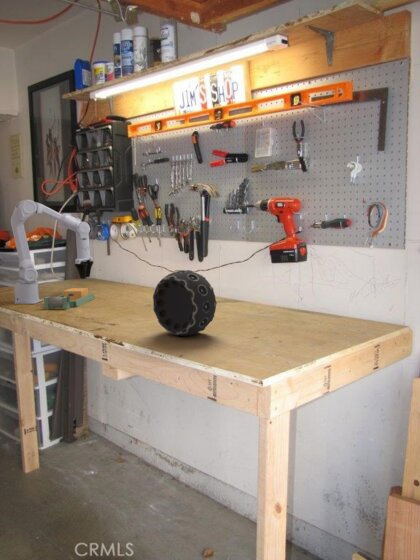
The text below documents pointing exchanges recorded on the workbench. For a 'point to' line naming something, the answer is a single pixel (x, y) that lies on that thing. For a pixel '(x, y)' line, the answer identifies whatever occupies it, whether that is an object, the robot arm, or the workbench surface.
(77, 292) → the orange square block
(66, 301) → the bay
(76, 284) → the workbench surface
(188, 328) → the dark studded ball
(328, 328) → the workbench surface
